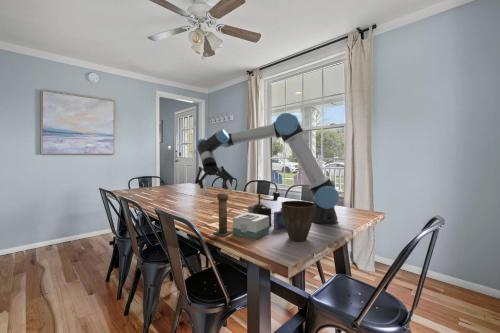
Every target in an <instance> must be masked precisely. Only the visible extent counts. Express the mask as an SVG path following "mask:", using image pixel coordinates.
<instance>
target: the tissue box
mask: <svg viewBox="0 0 500 333" xmlns="http://www.w3.org/2000/svg"><path fill="white" fill-rule="evenodd" d="M232 231H233V233H232V234H233V235H236V236H240V237H244V238H249V239H253V240H257V239H260V238H261V237H263V236H264V235H266V234H268V233H270V226H269V216H266V215H260V214H253V213H248V212H246V213H242V214H239V215H236V216H234V217H232Z"/></svg>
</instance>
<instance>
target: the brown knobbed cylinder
mask: <svg viewBox="0 0 500 333" xmlns="http://www.w3.org/2000/svg"><path fill="white" fill-rule="evenodd" d="M216 197H217V201H218V231H219V233H222V234H223V233H227V230H228V201H229V193H226V192H225V193H223V192H222V193H217V194H216Z"/></svg>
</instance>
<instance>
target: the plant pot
mask: <svg viewBox="0 0 500 333" xmlns="http://www.w3.org/2000/svg"><path fill="white" fill-rule="evenodd" d="M280 204H281V208H282V212H283V218H284V222H285V226H286V229H285V230H286V233H287V236H288V238H289V240H291V241H292V242H293V241H294V242H305V241H306V240H307V238H308V236H309V234H310V231H311V227H312V224H313V216H314V211H315V204H314V203H313V202H310V201H305V200H288V201H287V200H286V201H282V202H281V203H280Z"/></svg>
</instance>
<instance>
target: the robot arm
mask: <svg viewBox="0 0 500 333" xmlns="http://www.w3.org/2000/svg"><path fill="white" fill-rule="evenodd" d="M304 133H305V131H304V128H302V126H301V123H300V122H299V119H298V117H297V115H295V114H294V113H291V112H287V111H286V112H283V113H281V114H279V115H278V116H277V117H276V120H275V121H273V122H272V124H268V125H267V124H266V125H263V126H258V127H254V128H250V129H249V128H248V129H245V130H239V131H235V132H231V133H228V132H227V131H226V130H225V129H222V128H221V129H220V130H217V131H216V132H215V133H213V135H211V136H210V137H208V138H200V139H199V140H197V142H196V149H197V151H198V154H199V158H200V161H201V165H202V166H199V167H198V169H197V175H196V176H195V180H194V183H195V184H198V186H199V188H200V189H202V193H203V195H204V196H205V195H206V194H207V192H208V190H207V187H206V185H205V181H204V180H205V179H206V178H207V176H217V177H219V178H220V179H222V180H223V181H225V182H226V183H225V184H226V187H227V190H228V191H229V192H228V193H229V194H231V193H232V192H233V187H232V186H233V184H232V183H233V180H234V177H233V176H232V175H231V174H230V173H229V171H227V170H226V169H225V168H224V165H221V166H220V167H219V166H218V164H217V161H216V158H215V154H214V151H216V150H218V148H220V147H222V148H230V147H232V146H236V145H240V144H246V143H250V142H256V141H261V140H266V139H270V138H276V139H279V138H280V139H282V141H283V143H284V144H287V145H288V146H289V148H290V151H291V152H292V154H293V155H294V158H295V160H296V162H297V163H298V165H299V166H300V168H301V171H302V172H303V174H304V176H305V178H306V180H307V182H308V183H309V186H308V189H309V191H310V193H311V196H312V198H313V199H312V200H313V201H312V203H314V204H315V211H314V216H313V221H312V223H313V222H314V223H316V224H323V225H331V224H336V223H338V215H337V212H336V209H335V207H336V206H337V205H338V203H339V199H340V195H339V192H338V190H337V189H336V188H335V187H336V184H335V181H334V180H331V179H330V177H328V176H325V173H324V172H323V171H322V168H321V167H320V165H319V163H318V161H317V159H316V157H315V155H314V154H313V152H312V151H311V148H310V146H309V145H308V143H307V141H306V139H305V137H304ZM202 172H204V174H202V176H201V173H202ZM200 176H201V177H200Z"/></svg>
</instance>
